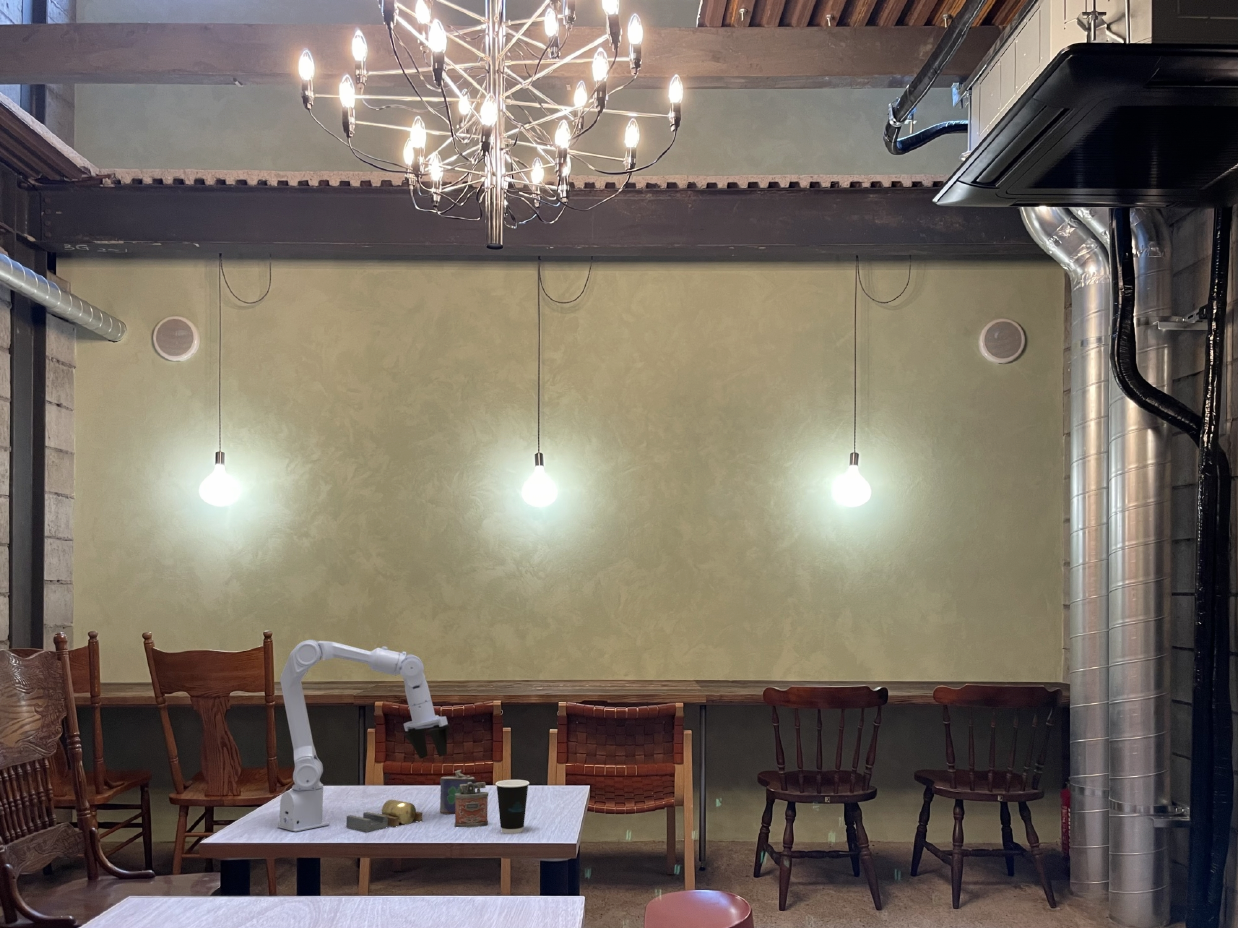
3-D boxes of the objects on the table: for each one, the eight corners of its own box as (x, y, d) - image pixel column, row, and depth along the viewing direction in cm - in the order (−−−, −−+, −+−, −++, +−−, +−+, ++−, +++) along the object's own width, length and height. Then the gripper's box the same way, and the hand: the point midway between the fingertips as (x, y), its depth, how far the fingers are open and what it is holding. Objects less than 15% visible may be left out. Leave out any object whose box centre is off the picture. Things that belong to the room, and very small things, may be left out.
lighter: (455, 828, 238) (455, 784, 239) (453, 825, 241) (454, 782, 243) (489, 825, 240) (489, 782, 241) (487, 822, 243) (487, 780, 245)
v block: (366, 832, 234) (366, 820, 235) (346, 827, 240) (346, 815, 240) (387, 827, 239) (387, 815, 239) (367, 822, 244) (367, 811, 244)
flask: (438, 814, 254) (439, 770, 255) (442, 811, 257) (443, 768, 258) (473, 815, 252) (474, 771, 253) (477, 813, 255) (477, 769, 256)
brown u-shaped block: (394, 827, 239) (394, 818, 240) (374, 822, 244) (374, 814, 245) (422, 821, 246) (422, 812, 246) (402, 816, 251) (402, 808, 251)
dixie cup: (516, 836, 229) (516, 786, 231) (488, 832, 233) (488, 783, 234) (535, 829, 236) (535, 781, 238) (507, 825, 240) (508, 778, 241)
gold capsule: (415, 822, 245) (416, 801, 245) (399, 825, 241) (399, 804, 242) (397, 818, 249) (398, 798, 250) (381, 821, 245) (382, 800, 246)
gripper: (450, 695, 250) (464, 748, 249) (414, 701, 258) (427, 752, 257) (429, 703, 244) (442, 758, 243) (392, 709, 253) (405, 762, 252)
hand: (433, 756), depth 250 cm, fingers open, 7 cm apart
